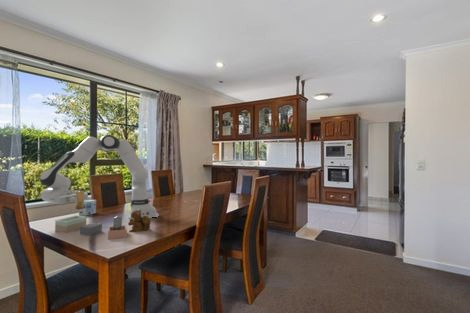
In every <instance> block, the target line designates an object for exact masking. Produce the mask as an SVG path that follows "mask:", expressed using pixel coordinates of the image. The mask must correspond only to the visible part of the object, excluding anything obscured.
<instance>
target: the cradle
mask: <svg viewBox="0 0 470 313" xmlns="http://www.w3.org/2000/svg"><path fill="white" fill-rule="evenodd" d="M102 228H103V224H102V223H96V222H91V223H88V224H87V223H86V225H84V226H81V227H80V229H79V235H84V236H92V235H95V234H97V233H101V232H102V230H103V229H102Z"/></svg>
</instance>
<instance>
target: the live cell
mask: <svg viewBox="0 0 470 313" xmlns="http://www.w3.org/2000/svg"><path fill="white" fill-rule="evenodd" d="M84 193H86V192H85V190H82V189H79V190H77V191H76V197H77V198H78V200H77V201H75V210H79V209H84V201H85V199H84Z"/></svg>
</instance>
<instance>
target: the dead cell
mask: <svg viewBox="0 0 470 313" xmlns="http://www.w3.org/2000/svg"><path fill="white" fill-rule="evenodd" d="M122 219H123V217H122V216H121V215H116V216H114V217H113V223H112V224H113V225H112V227H113V231H114V230H121V227H122V226H123V224H122V221H123V220H122Z"/></svg>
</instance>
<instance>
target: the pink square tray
mask: <svg viewBox="0 0 470 313" xmlns="http://www.w3.org/2000/svg"><path fill="white" fill-rule="evenodd" d="M107 228H108V229H107V239H108V240H113V239H122V238H127V235H128V234H127V232H128V229H127V225H124V224H123V225H122V227H121V230H114V231H113V226H108V227H107Z"/></svg>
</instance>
